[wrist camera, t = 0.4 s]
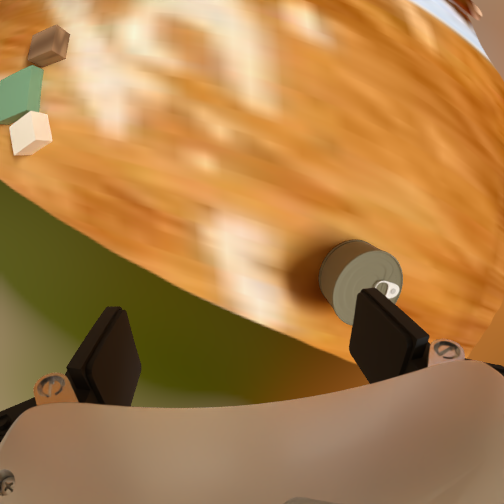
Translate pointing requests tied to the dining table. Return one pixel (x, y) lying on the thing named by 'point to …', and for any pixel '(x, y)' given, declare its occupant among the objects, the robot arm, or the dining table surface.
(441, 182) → the dining table surface
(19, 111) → the green base
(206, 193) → the dining table surface
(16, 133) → the cream cube
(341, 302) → the can
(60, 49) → the walnut cube
